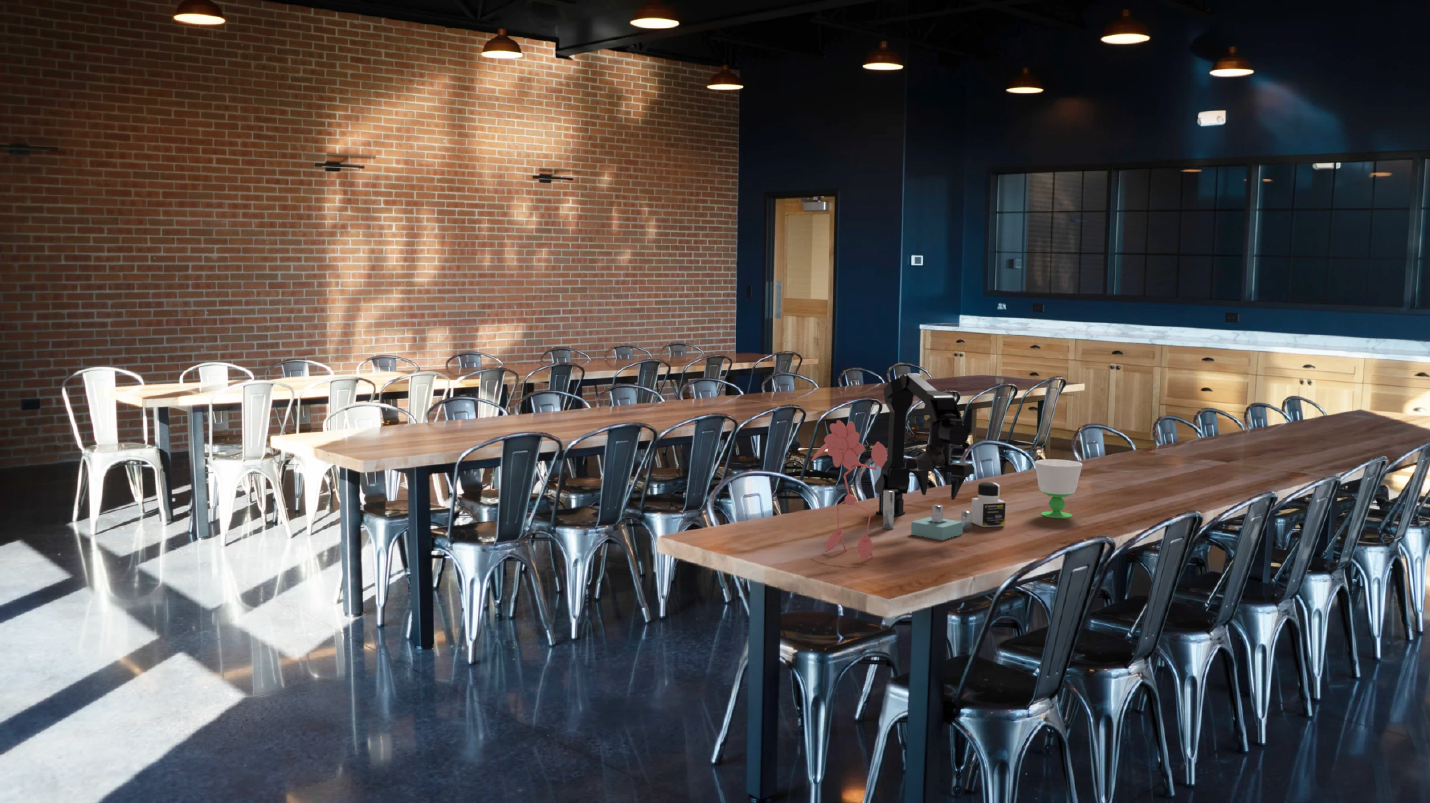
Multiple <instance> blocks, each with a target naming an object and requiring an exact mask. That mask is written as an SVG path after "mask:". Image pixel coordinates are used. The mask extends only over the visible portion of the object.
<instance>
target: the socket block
mask: <svg viewBox="0 0 1430 803" xmlns="http://www.w3.org/2000/svg"><path fill="white" fill-rule="evenodd" d="M910 526H911V528H910V530H911V531H910V532H911V533H910V534H911V535H912V536H913V535H914V536H918V537H922V536H924V538H928V539H934V540H939V541H945V540H948V538H949V539H952V538H955V537H954V536H956V537H958V536H962V535H963V531H964V530H963V522H961V520H960V521H959V520H954V519H953V520H952V519H948V518H943V524H935V523H932V516H928V517H925V518H922V519H917V520H913V521H911V525H910ZM951 537H952V538H951Z"/></svg>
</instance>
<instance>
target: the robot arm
mask: <svg viewBox="0 0 1430 803" xmlns="http://www.w3.org/2000/svg"><path fill="white" fill-rule="evenodd" d="M883 396H884V403H885V405H886V407H887V409H888V411H889V417H888V418H889V420H888V436H887V437H888V438H887V460H886V462H885V463H884V465H883V467H882V468H880V475H879V477H878V479H877V480H876V482H875V483H874V484H873V485H874V486H873V487H874V492H875V494H878V495H879V496H878V499H879V500H878V502H879V503H878V510H877V511H875V513H876V514H877V515H883V491H885V490H891V491H894V517H896V516H900V515H904V514H906V511H904V504H905V503H904V502H905V501H904V498H903V496H904V495H903V494H905V495H906V494H908V492H909V491H908V490H909V486H910V482H911V478H910V474H911V473H912V474H913V475H914V476H915V478H916V480H917V482H918V485H919V488H920V492H921V495H922V496H926V495H927V492H928V491H927V490H928V481H929V474H930V472H933V471H934V470H939V471H947V472H950V473H951V474H952V475H949V478H950V480H951V490H950V491H951V492H950V499H951V501H954V500H956V497H957V496H958V493H959V492H960V489H961V487H962V486H963V484H964V482H965V480H966V479H967V478H969V477H970V476H971V475H974V474H975V467H974V465H973V463H968V462H961V461H960V462H956V463H953V461H954V459H952V458H951V449H953V448H954V446H957V447H960V446H964V445H965V444H966V442H967V441H968V439H969V430H968V428H967V427H966V426H965V425H964V424H963V420H962V413H961V412H960V408H959V407H958V404H957V400H956V399H955V397H954V395H952V394H951V393H948V392H944V391H939V390H937V389H936V388H935V387H933V386H932V385H931V384H930V383H928V382H927V381H926V380H925V379H924V378H923V377H922V375H921V374H920V373H917V372H910V373H907V372H905V373H903V374H902V375H901V376H899V377H898V378H894V379H893V380H890V381H889V382H887V384H885V386H884V387H883ZM915 396H916V397H917V398H918V399H919V400H920V401H922V402H923V404H924V407H923V409H924V410H925V411H926V413H927V414H928V415H929V417H928V418H927V419H926V422H927V423H929V437H928V438H929V439H928V440H929V441H928V442H929V443H927V444H926V446H925V451H924V452H922V453H920V454H919V455H918V456H914V457H907V459H906V460H905V447H906V446H905V445H906V429H907V428H906V426H907V413H908V411H909V410H910V408H911V406H912V405H913V403H914V402H913V401H914V397H915Z"/></svg>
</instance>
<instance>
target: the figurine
mask: <svg viewBox="0 0 1430 803" xmlns="http://www.w3.org/2000/svg"><path fill="white" fill-rule="evenodd" d="M829 430H830V432H831V433H829V434H827V435H826V436H825V437H824V439H823V440H824V443H825V444H822V445H821V447H820V448H819V449H817V451H816V452H815V453H814V455H813V456H812V458H811V460H810V461H811V462H812V461H815V460H816V459H817V458H819V457H820V456H821V455H822V454H824V452H825V451H826V450H827V455H828V456H829V457H831V458H832V462H833V466H834V467H835V468H839V467H841V465H843V468H846V469H847V471H846V472H844V475H843V479H844V483H845V487H846V492H847V495H846V496H845V497H844V500H843V501H842V502H840V503H839V504H837V505H836V513H837V515H836V516H837V518H836V519H837V530H835V531H834V532H833V533H832V534H831V535H830V536H829V538H828V540H827V541H826V544H825V549H824V553H827V552H830V551H831V550H833V549H834V548H835V547H837V546H838V545H839V543H840V542H841V544H842V545H841V546H842V548H843V550H844V552H848V550H847V548H846V544H845V542H844V539H843V535H844V531H843V529H840V521H839V519H840V516H839V514H840V513H839V507H840V506H842V505H843V504H846V505H848V506H853V505H854V506H857V507H859V508H861V509H862V510H864V511H866V512H868V513H869V514H868V520H867V526H866V532H865V535H863V536H861V537H860V539H859V541H858V542H857V547H856V548H857V554H858V555H859V557H860V559H861V560H862V561H863V562H864V563H865V561H866V560H868V558H869V557H870V558H871V559H873V558H874V556H873V553H872V551H873V542H872V540H871V538H870V537H869V536H868V532H869V526H870V522H871V517H872V513H871V512H872V511H870V510H869V509H866V508H864V507H863V506H861V505H860V504H858V503H856V501H857V500H856V496H854V495H853V494H850V491H849V485H848V480H847V475H848V474H849V473H851V472H852V471H853V470H854V469H855V468H857V467H863V468H866V469H870V470H874V471H877V468H878V467H879V468H880V469H881V468H882V467H883V465H884V463H885V462H886V460H887V453H888V450H887V449H886V447H885V446H884V444H882V443H881V442H880V441H876V443H875V444H874V445H873V446H872V449H871V459H872V461H873V463H874V467H873V466H870V465H866V464H863V463H861V461H860V459H859V457H858V456H860V455H861V454H863V453H864V452H865V445H863V444H862V443H861V442H859V441H860V433H859V432H858V431H857V430H856V426H855V423H854V422H853V421H851V420H849V422H848V423H847V425H845V424H844V422H843V421H841V420H840V419H837V420H836V423H834V422H833V423H830V425H829ZM811 560H812V561H813V560H814V559H813V558H811ZM818 562H819V564H820V565H824V564H825V563H823V562H820V561H818ZM821 563H822V564H821ZM832 565H833V566H832V567H835V565H834V564H832ZM837 566H838V567H839V568H844V566H842V565H841V566H839V565H837ZM850 567H851V568H852V569H856V568H857V569H858V568H859V569H861V568H863V567H862V566H850Z"/></svg>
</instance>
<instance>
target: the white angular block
mask: <svg viewBox="0 0 1430 803" xmlns="http://www.w3.org/2000/svg"><path fill="white" fill-rule="evenodd" d="M977 486H978V487H977V497H972V498H971V510H970V511H972V524H975V525H976V526H980V527H982V528H990V527H993V528H994V527H995V528H996V527H1005V525H1006V523H1005V522H1006V504H1007V503H1006V501H1004V500H1002V499H1000V493H1001V491H1000V490H1001V485H1000V484H998V483H996V482H993V481H984V482H983V481H982V482H980V483H978V485H977Z"/></svg>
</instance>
